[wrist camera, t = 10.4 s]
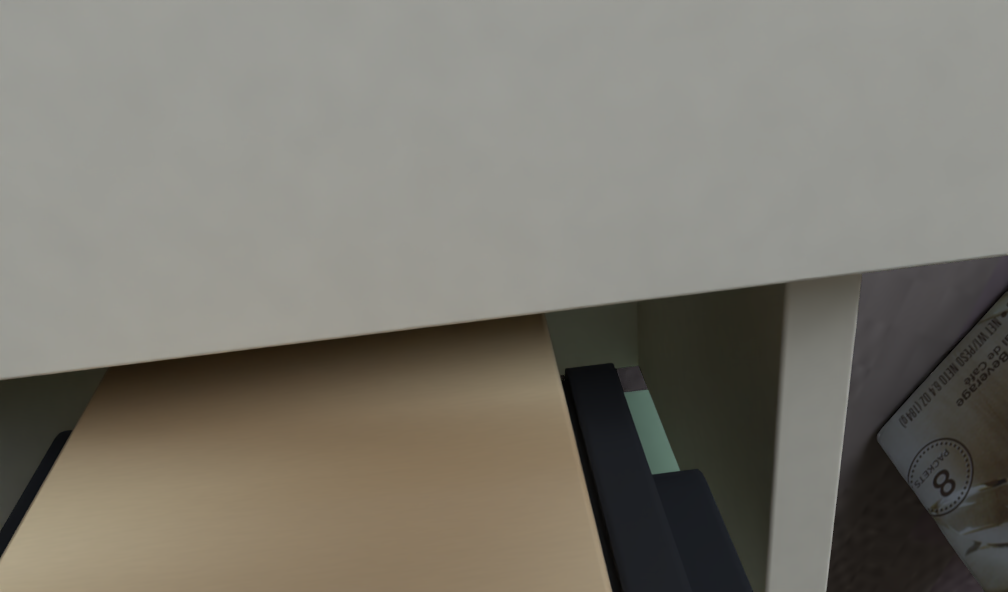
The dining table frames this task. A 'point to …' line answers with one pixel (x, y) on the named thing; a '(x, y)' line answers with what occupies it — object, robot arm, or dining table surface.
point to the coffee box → (962, 447)
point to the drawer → (653, 408)
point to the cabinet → (470, 161)
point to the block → (322, 473)
